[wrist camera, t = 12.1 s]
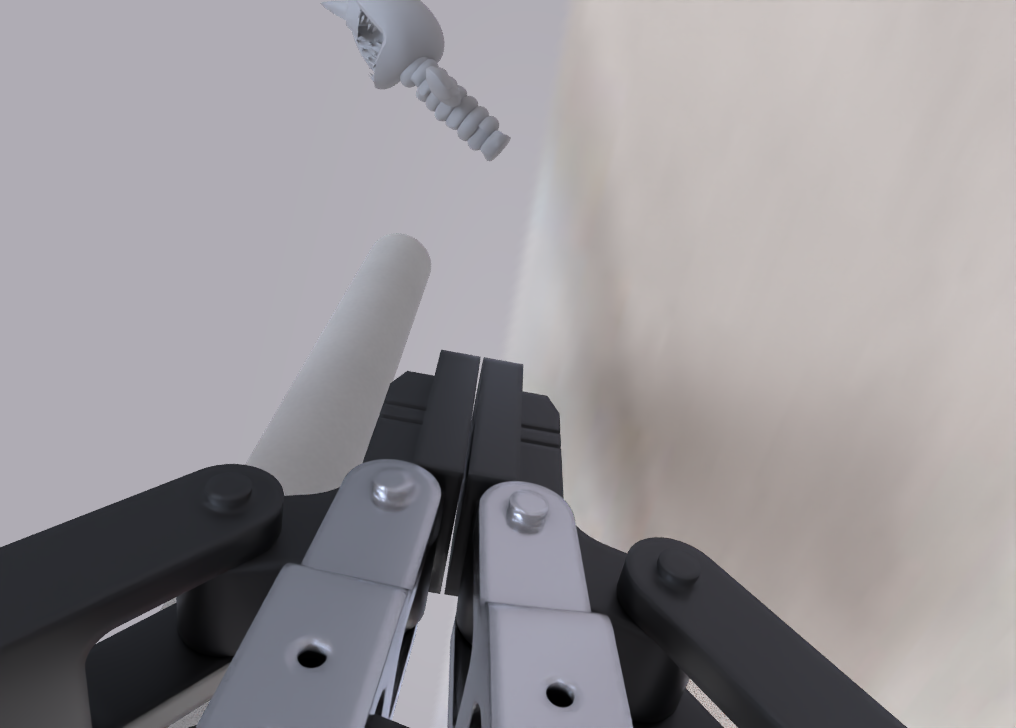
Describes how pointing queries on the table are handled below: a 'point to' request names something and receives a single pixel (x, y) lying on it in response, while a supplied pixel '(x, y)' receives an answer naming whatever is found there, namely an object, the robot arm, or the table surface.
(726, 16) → the table surface
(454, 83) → the toy creature
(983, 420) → the table surface
